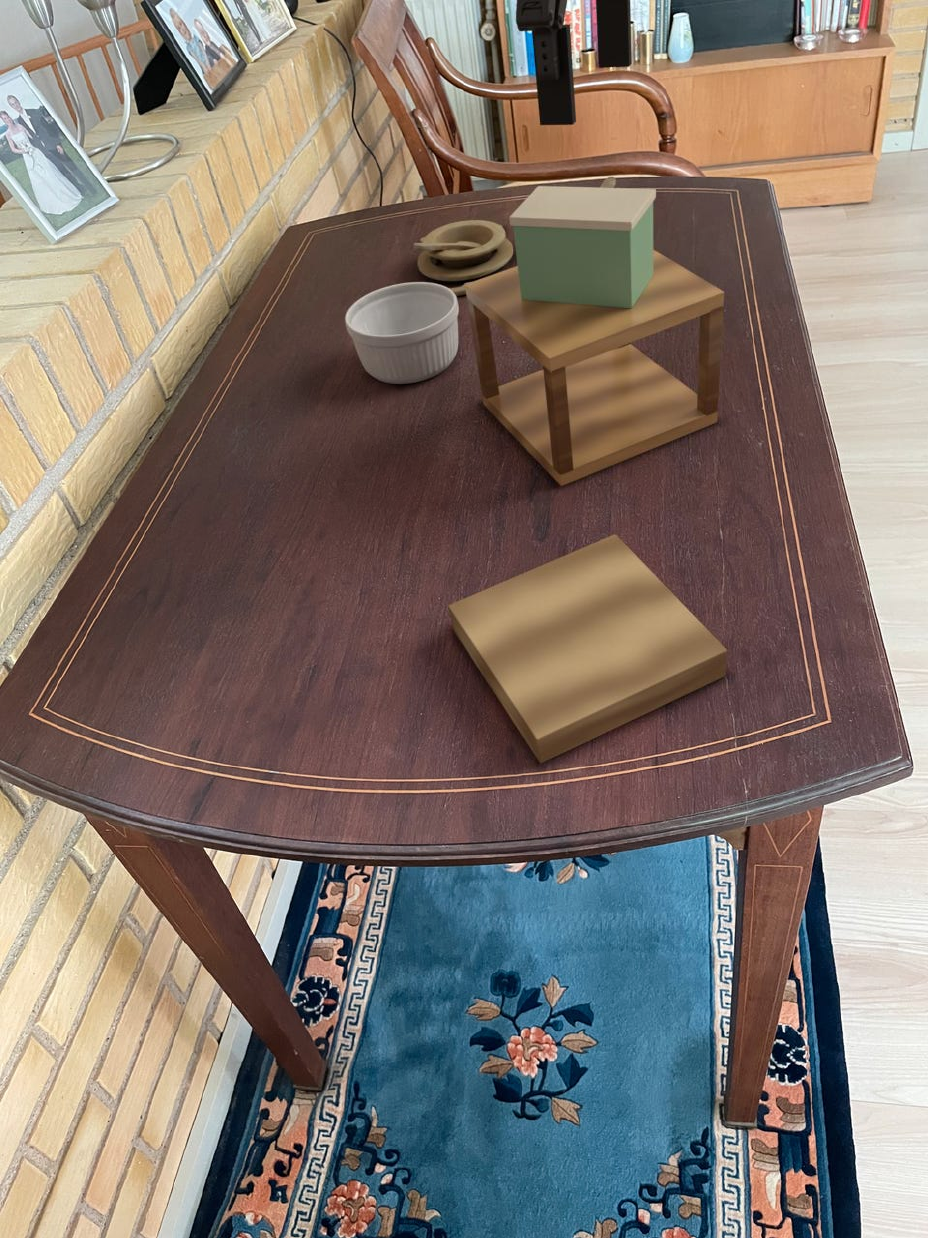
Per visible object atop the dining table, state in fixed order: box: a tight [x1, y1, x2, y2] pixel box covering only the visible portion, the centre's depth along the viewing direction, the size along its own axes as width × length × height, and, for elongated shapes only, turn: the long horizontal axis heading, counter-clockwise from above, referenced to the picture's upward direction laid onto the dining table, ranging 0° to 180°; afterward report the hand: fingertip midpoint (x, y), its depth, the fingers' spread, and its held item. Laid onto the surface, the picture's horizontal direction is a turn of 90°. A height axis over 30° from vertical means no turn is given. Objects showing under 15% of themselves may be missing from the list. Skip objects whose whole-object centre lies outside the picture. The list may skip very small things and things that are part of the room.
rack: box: [464, 249, 725, 487], centre depth 92 cm, size 18×18×14 cm
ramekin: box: [344, 281, 460, 385], centre depth 108 cm, size 13×13×7 cm
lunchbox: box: [508, 185, 657, 308], centre depth 85 cm, size 11×7×8 cm, turn 64°
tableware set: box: [412, 176, 617, 297], centre depth 125 cm, size 30×20×6 cm, turn 94°
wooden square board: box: [447, 533, 728, 764], centre depth 73 cm, size 16×16×3 cm
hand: (588, 93), depth 75 cm, fingers open, 13 cm apart
